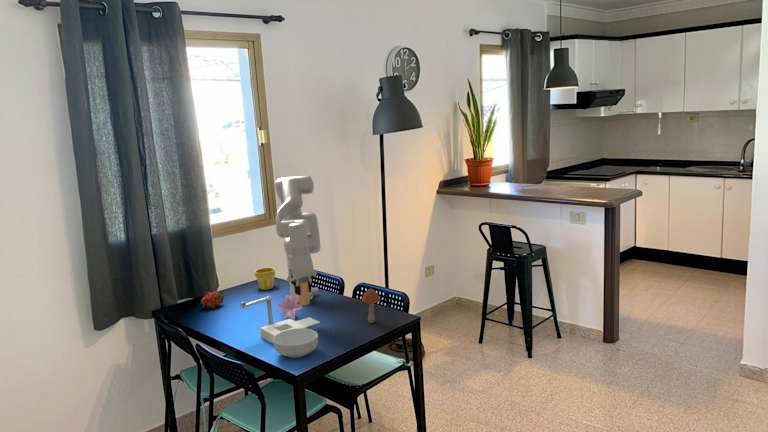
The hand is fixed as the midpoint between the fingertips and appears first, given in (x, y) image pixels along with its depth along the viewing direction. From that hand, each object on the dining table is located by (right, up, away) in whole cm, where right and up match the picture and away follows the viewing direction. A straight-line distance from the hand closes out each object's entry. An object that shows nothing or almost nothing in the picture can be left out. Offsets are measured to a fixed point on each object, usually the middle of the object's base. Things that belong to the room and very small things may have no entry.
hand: (303, 292), depth 253 cm
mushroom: (+30, -13, 0) cm, 32 cm away
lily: (-7, -13, +13) cm, 20 cm away
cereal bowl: (+1, -20, -28) cm, 34 cm away
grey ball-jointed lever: (-18, -3, -8) cm, 20 cm away
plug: (0, -5, +1) cm, 5 cm away
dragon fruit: (-48, -12, +33) cm, 60 cm away
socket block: (-8, -16, -8) cm, 20 cm away
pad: (+1, -14, +3) cm, 14 cm away
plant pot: (-27, -5, +59) cm, 65 cm away
